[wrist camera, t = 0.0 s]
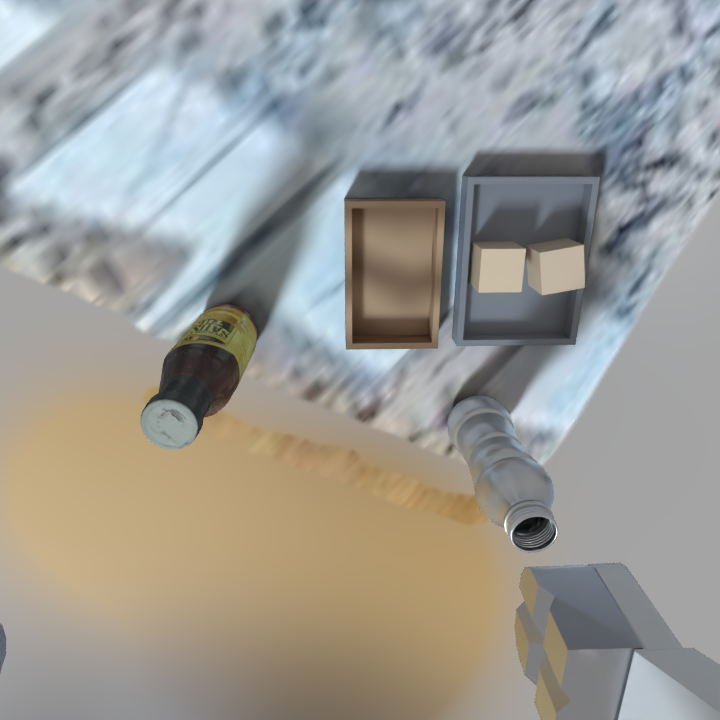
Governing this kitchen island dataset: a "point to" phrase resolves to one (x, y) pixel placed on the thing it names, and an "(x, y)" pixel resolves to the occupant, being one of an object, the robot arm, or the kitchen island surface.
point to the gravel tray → (525, 226)
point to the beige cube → (555, 266)
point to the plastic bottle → (504, 473)
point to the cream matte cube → (497, 266)
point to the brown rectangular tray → (393, 272)
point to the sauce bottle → (200, 375)
